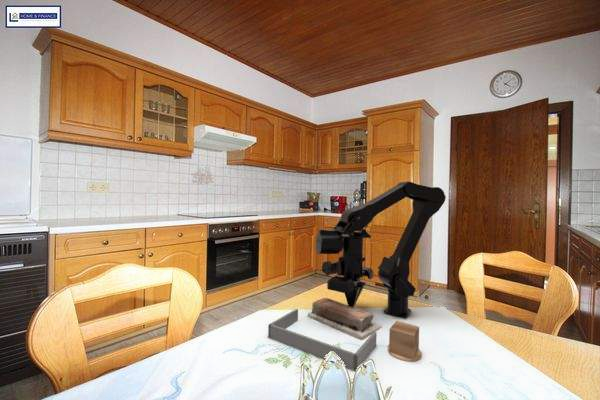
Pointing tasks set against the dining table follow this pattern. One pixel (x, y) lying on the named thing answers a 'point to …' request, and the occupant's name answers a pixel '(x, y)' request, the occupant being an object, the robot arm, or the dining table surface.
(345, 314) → the packaged product
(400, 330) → the block
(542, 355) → the dining table surface
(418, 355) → the coaster
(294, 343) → the bin
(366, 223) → the robot arm
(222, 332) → the dining table surface
